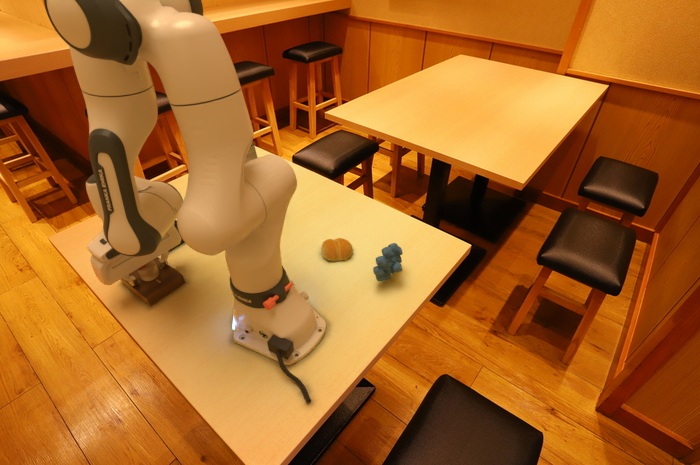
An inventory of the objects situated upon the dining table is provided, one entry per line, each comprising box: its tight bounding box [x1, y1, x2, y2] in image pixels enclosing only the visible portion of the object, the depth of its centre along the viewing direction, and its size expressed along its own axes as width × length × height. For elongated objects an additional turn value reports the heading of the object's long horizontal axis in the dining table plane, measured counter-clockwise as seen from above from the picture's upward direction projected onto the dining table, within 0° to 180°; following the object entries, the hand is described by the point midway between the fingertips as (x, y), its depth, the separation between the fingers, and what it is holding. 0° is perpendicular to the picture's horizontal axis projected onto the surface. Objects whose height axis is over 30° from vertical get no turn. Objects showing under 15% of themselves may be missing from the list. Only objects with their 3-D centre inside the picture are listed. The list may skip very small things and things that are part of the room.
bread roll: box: [320, 237, 353, 262], centre depth 107 cm, size 8×9×4 cm
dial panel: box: [119, 257, 186, 308], centre depth 97 cm, size 13×10×3 cm
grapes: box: [372, 242, 403, 282], centre depth 96 cm, size 12×7×12 cm, turn 141°
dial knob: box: [137, 260, 160, 281], centre depth 95 cm, size 4×4×4 cm
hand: (149, 273), depth 96 cm, fingers open, 7 cm apart
